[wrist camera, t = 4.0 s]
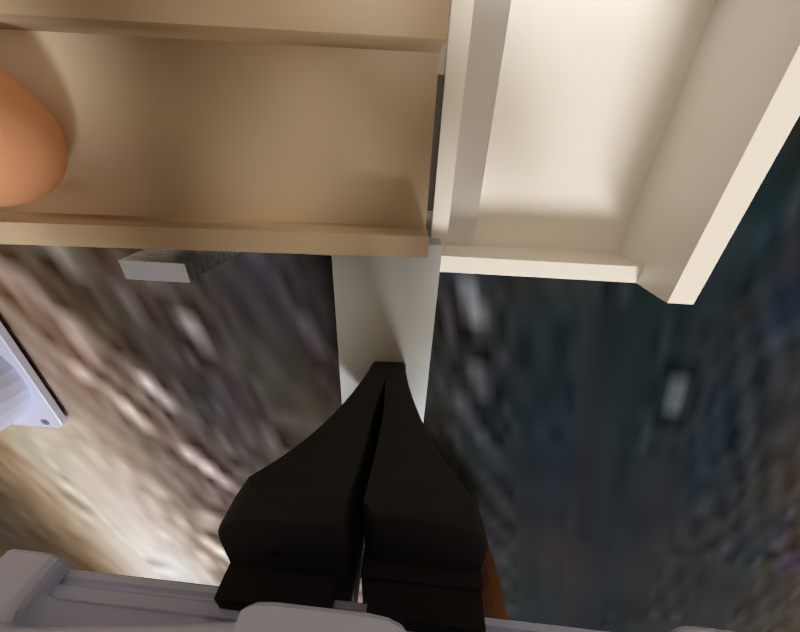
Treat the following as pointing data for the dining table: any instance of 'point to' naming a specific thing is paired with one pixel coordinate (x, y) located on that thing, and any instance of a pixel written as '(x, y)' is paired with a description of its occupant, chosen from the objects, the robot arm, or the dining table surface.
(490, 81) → the stand
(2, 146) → the brown egg
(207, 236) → the beige tray
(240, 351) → the dining table surface
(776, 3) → the dish
